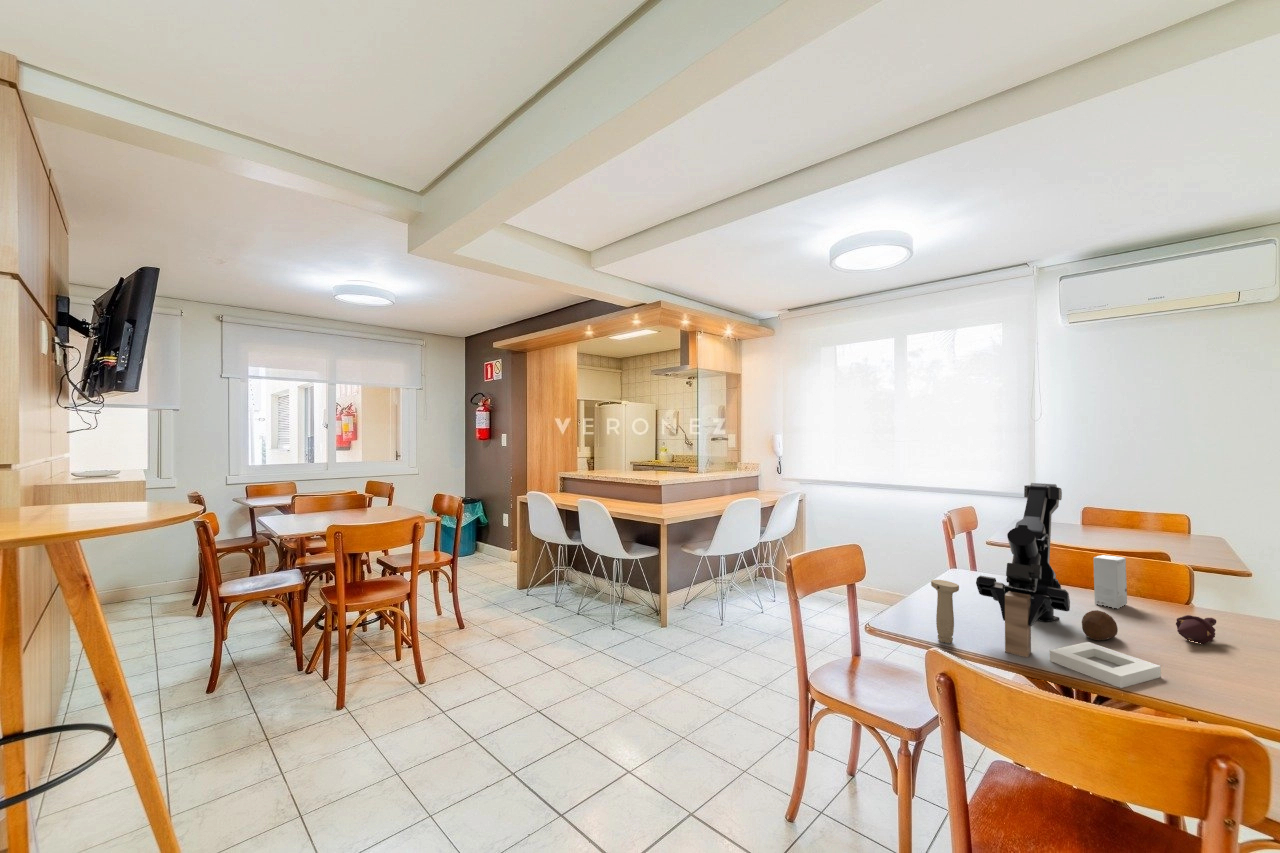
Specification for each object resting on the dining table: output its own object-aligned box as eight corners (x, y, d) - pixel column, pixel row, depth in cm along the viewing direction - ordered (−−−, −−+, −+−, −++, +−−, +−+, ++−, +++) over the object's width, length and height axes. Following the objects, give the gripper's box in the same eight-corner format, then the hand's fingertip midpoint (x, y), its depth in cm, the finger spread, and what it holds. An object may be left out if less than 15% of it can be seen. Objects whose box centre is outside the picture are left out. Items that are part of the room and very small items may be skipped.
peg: (1009, 646, 132) (1008, 591, 132) (1031, 652, 129) (1030, 595, 129) (1005, 652, 129) (1004, 595, 129) (1027, 657, 126) (1027, 599, 126)
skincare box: (1118, 610, 159) (1117, 560, 159) (1092, 604, 164) (1092, 556, 164) (1127, 604, 163) (1127, 557, 163) (1102, 599, 168) (1102, 553, 168)
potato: (1074, 637, 138) (1074, 611, 138) (1088, 629, 144) (1088, 603, 144) (1109, 646, 132) (1108, 619, 132) (1122, 637, 138) (1122, 611, 138)
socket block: (1088, 652, 129) (1088, 641, 129) (1160, 677, 116) (1160, 665, 116) (1049, 660, 124) (1049, 650, 124) (1120, 688, 111) (1120, 676, 111)
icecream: (1203, 627, 128) (1235, 624, 133) (1165, 610, 135) (1198, 608, 140) (1192, 652, 130) (1225, 648, 135) (1155, 634, 136) (1188, 631, 142)
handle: (940, 635, 140) (940, 578, 140) (963, 644, 134) (963, 585, 134) (927, 638, 138) (927, 581, 138) (950, 647, 132) (949, 587, 132)
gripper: (977, 544, 139) (966, 596, 131) (1068, 556, 126) (1062, 614, 118) (984, 568, 144) (974, 619, 136) (1072, 582, 131) (1066, 639, 123)
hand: (1016, 622), depth 128 cm, fingers open, 5 cm apart
